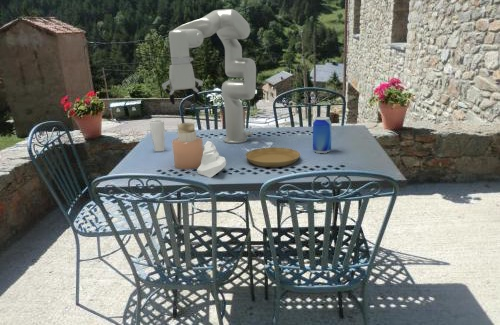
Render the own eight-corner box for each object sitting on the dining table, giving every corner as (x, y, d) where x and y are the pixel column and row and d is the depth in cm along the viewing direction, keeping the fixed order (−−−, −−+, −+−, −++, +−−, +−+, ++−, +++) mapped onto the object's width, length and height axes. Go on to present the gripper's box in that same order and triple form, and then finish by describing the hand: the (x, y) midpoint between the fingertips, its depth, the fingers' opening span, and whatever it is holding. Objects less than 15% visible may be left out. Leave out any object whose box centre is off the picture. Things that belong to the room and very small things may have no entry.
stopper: (193, 136, 189) (192, 122, 187) (197, 139, 183) (195, 125, 181) (177, 138, 186) (176, 123, 185) (180, 141, 180) (179, 126, 178)
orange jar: (199, 158, 196) (197, 126, 191) (207, 166, 184) (205, 132, 180) (171, 162, 192) (168, 130, 187) (177, 170, 180) (174, 136, 175)
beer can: (332, 149, 201) (333, 116, 196) (328, 154, 194) (328, 120, 189) (315, 148, 205) (316, 115, 200) (310, 153, 197) (310, 119, 193)
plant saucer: (286, 151, 204) (285, 144, 203) (309, 164, 182) (309, 157, 181) (238, 157, 196) (238, 150, 195) (257, 172, 174) (257, 165, 173)
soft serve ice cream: (194, 182, 170) (184, 148, 168) (206, 173, 184) (196, 141, 182) (223, 175, 167) (213, 140, 165) (232, 166, 181) (223, 134, 179)
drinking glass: (163, 152, 208) (160, 122, 204) (150, 152, 210) (147, 122, 205) (168, 148, 215) (165, 119, 210) (156, 148, 216) (153, 119, 212)
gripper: (198, 59, 181) (202, 99, 186) (158, 62, 175) (162, 103, 181) (203, 60, 174) (206, 102, 180) (161, 63, 169) (165, 106, 174)
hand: (184, 102), depth 180 cm, fingers open, 9 cm apart
